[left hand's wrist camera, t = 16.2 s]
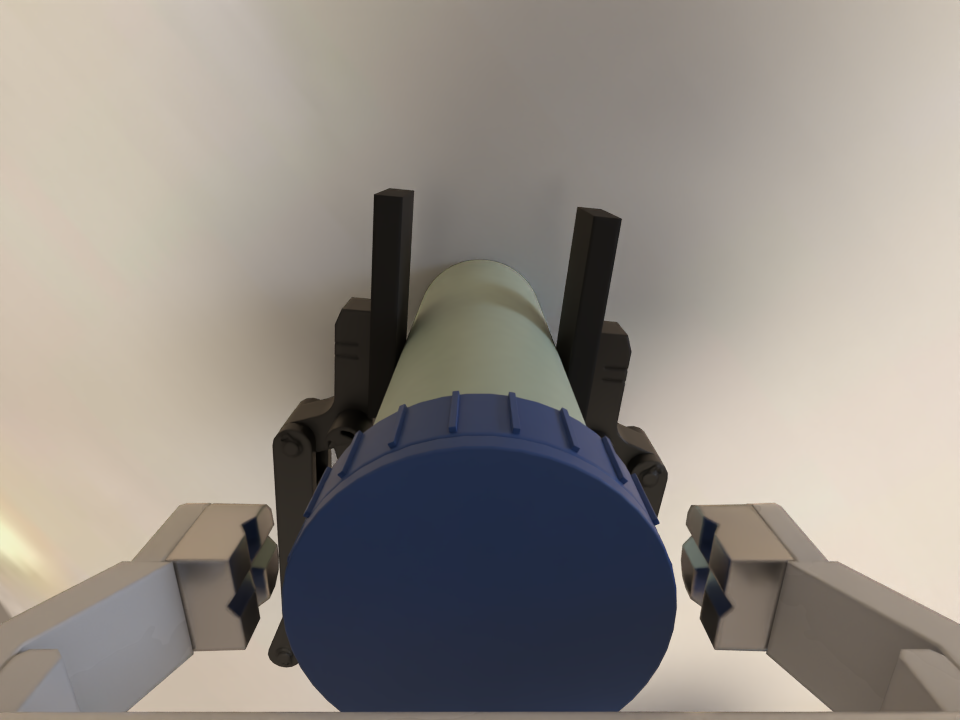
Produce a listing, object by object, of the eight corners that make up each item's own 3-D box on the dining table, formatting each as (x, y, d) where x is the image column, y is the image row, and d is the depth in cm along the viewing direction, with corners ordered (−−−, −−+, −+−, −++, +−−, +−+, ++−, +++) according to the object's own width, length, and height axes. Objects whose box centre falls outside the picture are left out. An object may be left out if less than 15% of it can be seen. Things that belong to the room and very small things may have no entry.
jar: (564, 326, 24) (700, 606, 9) (473, 397, 25) (464, 748, 10) (486, 233, 23) (499, 386, 8) (394, 313, 24) (253, 577, 9)
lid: (628, 355, 9) (664, 404, 7) (662, 641, 11) (696, 733, 9) (265, 423, 9) (216, 484, 8) (363, 686, 11) (343, 782, 10)
